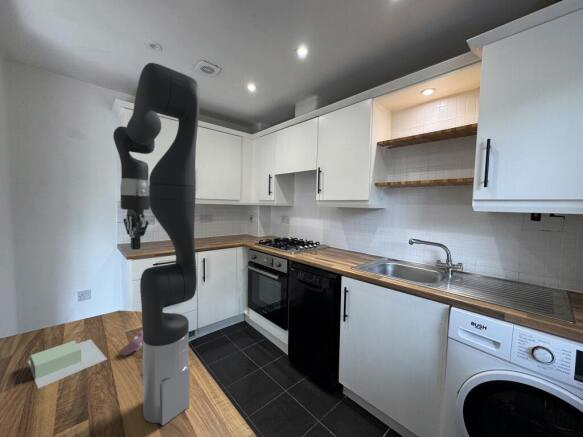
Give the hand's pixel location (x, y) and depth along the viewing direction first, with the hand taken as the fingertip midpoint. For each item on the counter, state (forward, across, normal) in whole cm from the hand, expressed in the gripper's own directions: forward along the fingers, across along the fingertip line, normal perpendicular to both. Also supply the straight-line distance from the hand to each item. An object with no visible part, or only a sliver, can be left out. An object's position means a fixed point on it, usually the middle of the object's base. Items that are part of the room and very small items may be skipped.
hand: (135, 249), depth 74 cm
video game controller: (+32, +1, 0) cm, 32 cm away
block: (+30, -7, -13) cm, 33 cm away
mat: (+32, -7, -15) cm, 36 cm away
